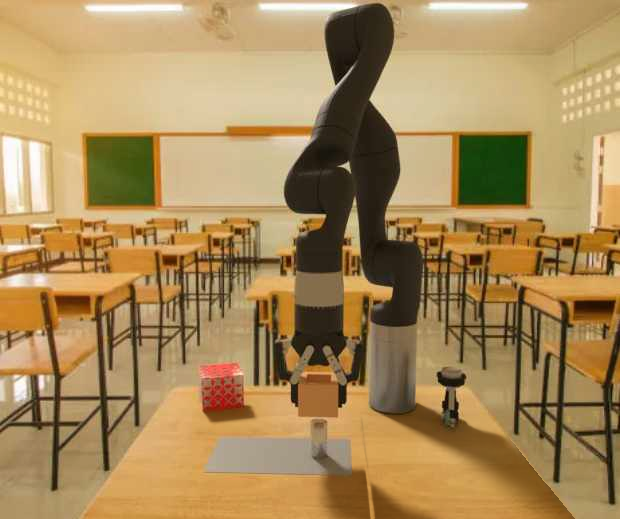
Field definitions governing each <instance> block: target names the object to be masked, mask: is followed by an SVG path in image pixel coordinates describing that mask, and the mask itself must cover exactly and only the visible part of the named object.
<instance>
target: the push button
mask: <svg viewBox="0 0 620 519" xmlns="http://www.w3.org/2000/svg"><path fill="white" fill-rule="evenodd" d="M436 377H437V383H439V385H441V386H442V387H443V388H445V394H444V400H442V401H441V408H442V411H441V421H443V419H444V422H445V425H446V426H448V427H450V428H456V427H457V422H459V419H460V417H459V416H460V415H459V409H460V403H459V401H458V400H457V389H459V388H461V387H462V386H464V385H465V384H466V382H465V381H466V380H467V375H466V374H465V373H463V372H462V369H461V368H460V367H455V366H443V367H442V368H441V370H440V371H438V372H436Z"/></svg>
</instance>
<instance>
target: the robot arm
mask: <svg viewBox="0 0 620 519" xmlns="http://www.w3.org/2000/svg"><path fill="white" fill-rule="evenodd" d="M323 33H324V43H325V49H326V54H327V58H328V64H329V67H330V71H331V75H332V79H333V82H334V88H332V89H331V91H330V92H329V93H328V94H327V96H326V97H325V99H324V100H323V101H322V104H321V105H320V107H319V109H318V112H317V115H316V119H315V121H314V125H313V128H312V132H311V135H310V138H309V141H308V142H307V143H306V145H305V146H304V147H303V149H302V151H301V153H300V154H299V155H298V157H297V158H296V160H295V161H294V163H292V164H293V165H291V168H290V169H289V171H288V173H287V175H286V177H285V181H284V185H283V197H284V200H285V205H287V208H288V209H289V210H290V211H292V212H293V213H295V214H299V215H300V214H301V215H325V217H324V220H323V223H322V225H321V226H320V227H319V228H316V229H310V230H306V231H302V232H300V233H299V234H298V235H297V237H296V242H295V251H296V252H295V277H294V293H293V300H294V306H293V307H294V309H293V310H294V311H293V312H294V314H293V315H294V316H293V317H294V322H293V323H294V332H293V336H292V337H291V338H287V339H282V338H279V337H278V338H277V339H275V341H274V344H273V348H274V356H275V357H274V358H275V361H276V362H275V363H276V371H277V377H278V379H279V380H280V381H287V382H288V383H289V384H290V402H291V404H294V407H295V408H298V383H299V378H300V376H301V374H302V373H303V372H305V369H306V367H307V366H308V367H315V366H322V367H329V366H330V368H331V370H332V372H334V373H335V375H336V377H337V379H338V409H343V405H346V403H347V401H348V400H347V397H348V396H347V395H348V384H349V383H351V382H357V381H358V380H359V378H360V373H361V366H362V360H363V354H364V342H363V340H362V339H356V340H350V339H347V338H346V336H345V333H344V312H345V311H344V310H345V309H344V308H345V305H344V304H345V286H344V285H345V284H344V277H343V276H344V275H343V258H344V257H343V252H344V250H343V247H344V240H345V234H346V230H347V226H348V223H349V217H350V215H351V211H352V209H353V205H354V202H355V204H356V205H355V206H356V213H357V220H358V231H359V232H358V234H359V252H360V261H361V268H362V271H363V274H364V277H365V279H366V280H367V282H368V283H369V284H372V285H375V286H380V287H381V286H382V287H385V288H388V287H389V288H392V292H391V293H392V294H391V297H390V299H389V300H387V301H384V302H380V303H376V304H374V305H372V307H371V308H370V313H369V323H370V324H369V369H368V371H369V373H368V375H369V377H368V378H369V380H368V381H369V384H368V405H369V407H370V408H372V409H373V410H376V411H377V412H378V411H379V412H380V413H381V412H382V413H384V414H385V413H387V414H404V413H409V412H411V411H413V410H414V409H415V408H416V389H417V387H416V384H417V355H418V354H417V353H418V352H417V350H418V349H417V348H418V346H417V345H418V344H417V343H418V314H419V311H420V307H421V300H422V299H421V298H422V297H421V296H422V286H423V285H422V284H423V272H424V257H423V253H422V248H420V246H419V245H418V244H417V243H416V242H414V241H408V240H407V241H406V240H398V239H396V240H394V239H388V236H387V231H386V230H387V229H386V213H387V208H388V206H389V203H390V201H391V198H392V197H393V195H394V192H395V190H396V187H397V185H398V182H399V180H400V176H401V162H400V159H401V158H400V153H399V152H400V151H399V146H398V145H399V144H398V140H397V135H396V133H395V131H394V130H393V128H392V127H391V125H390V124H389V123H388V121H387V120H386V118H385V117H384V115H383V114H382V113H381V112H380V111H379V110H378V108H377V107H376V106H375V105H374V104H373V102H372V101H371V100H370V99H371V97H372V95H373V93H374V90H376V87H377V84H378V82H379V80H380V78H381V77H382V76H381V75H382V74H383V71H384V69H385V67H386V65H387V63H388V60H389V58H390V56H391V53H392V51H393V46H394V41H395V27H394V22H393V18H392V15H391V13H390V11H389V9H388V8H387V7H386V6H385V5H384V4H383V3H380V2H372V3H365V4H362V5H357V6H354V7H349V8H345V9H340V10H338V11H334V12H331V13H330V14H329V15H328V16H327V17H326V20H325V23H324V32H323ZM347 163H348V165H349V170H350V171H349V170H348V168H345V167H342V166H343V165H345V164H347ZM290 347H292V348H293V350H294V351H295V352H296V354H297V355H298V357H299V358H298V360H297V362H296V364H295V366H294V369H292V370H293V371H291V370H290V369H288V365H287V358H286V355H287V354H288V353H289V350H290ZM346 348H347V349H348V352H349V355H351V356H352V359H351V367H350V370H349V371H345V369H344V367H343V365H342V362H341V360H340V358H339V357H340V355H341V354H342V352H343V351H344V350H345V349H346Z"/></svg>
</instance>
